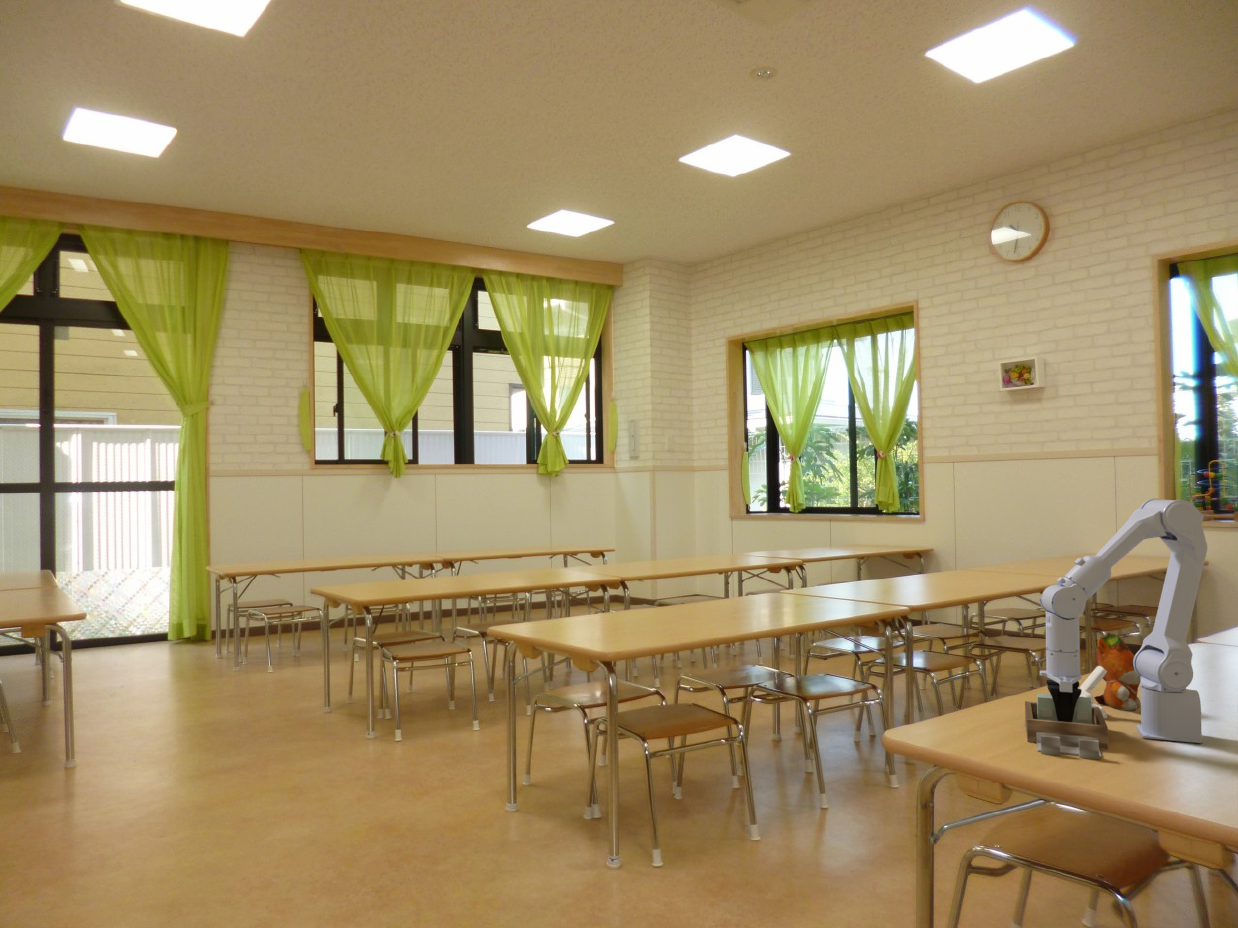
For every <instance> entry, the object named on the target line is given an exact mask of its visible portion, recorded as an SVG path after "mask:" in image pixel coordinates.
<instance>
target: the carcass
mask: <svg viewBox="0 0 1238 928" xmlns="http://www.w3.org/2000/svg"><path fill="white" fill-rule="evenodd" d="M1024 709H1025V710H1024V715H1025V716H1024V718H1025V719H1024V722H1025V729H1026V730H1025V732H1026V740H1027V742H1029V743H1036V746H1037V747H1036V748H1037V752H1039V753H1040V754H1042V755H1052V756H1061V755H1069V756H1078V757H1079V758H1083V759H1091V760H1092V759H1093V760H1100V759H1102V758H1103V757H1102V753H1101V751H1100V749H1101V750H1109V738H1108V737H1109V736H1108V734H1109V733H1108V730H1109V727H1108V725H1107V722H1106V721H1105V719H1104V717H1103V715H1102V713H1101V710H1100V708H1099V707H1092V724H1085V723H1073V722H1062V721H1051V720H1039V719H1037V701H1029V700H1028V701H1024Z"/></svg>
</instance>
